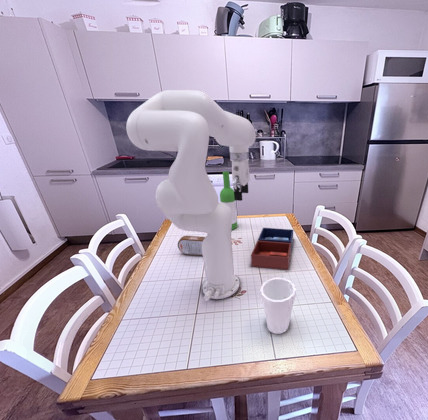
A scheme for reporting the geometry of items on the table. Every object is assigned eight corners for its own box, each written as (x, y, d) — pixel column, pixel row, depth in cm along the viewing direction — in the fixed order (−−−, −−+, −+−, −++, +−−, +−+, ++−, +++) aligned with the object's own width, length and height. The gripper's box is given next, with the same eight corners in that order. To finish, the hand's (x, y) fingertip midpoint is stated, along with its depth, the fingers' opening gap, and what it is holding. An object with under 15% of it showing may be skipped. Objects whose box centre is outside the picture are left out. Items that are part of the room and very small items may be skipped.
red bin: (288, 269, 92) (288, 258, 90) (251, 266, 94) (250, 254, 92) (290, 254, 102) (291, 243, 100) (257, 251, 104) (257, 240, 102)
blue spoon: (288, 242, 111) (288, 236, 110) (287, 246, 107) (287, 241, 106) (265, 240, 112) (265, 235, 111) (263, 245, 108) (263, 239, 107)
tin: (214, 253, 102) (212, 236, 99) (212, 257, 100) (209, 240, 96) (181, 251, 104) (178, 234, 101) (178, 255, 101) (174, 238, 98)
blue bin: (291, 252, 103) (291, 241, 101) (258, 249, 105) (257, 239, 103) (293, 239, 114) (293, 229, 112) (263, 237, 116) (263, 227, 113)
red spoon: (287, 257, 99) (287, 251, 98) (286, 263, 95) (286, 257, 94) (261, 254, 101) (260, 249, 100) (258, 260, 97) (258, 255, 96)
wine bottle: (239, 228, 124) (235, 172, 112) (224, 231, 121) (219, 174, 109) (235, 222, 130) (231, 169, 119) (221, 225, 127) (216, 170, 116)
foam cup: (276, 307, 74) (276, 273, 69) (300, 322, 69) (302, 287, 64) (255, 326, 68) (253, 290, 63) (279, 345, 62) (280, 307, 57)
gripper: (242, 160, 86) (244, 204, 93) (253, 153, 102) (254, 190, 109) (222, 160, 87) (226, 203, 94) (236, 152, 103) (239, 189, 110)
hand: (241, 196), depth 101 cm, fingers open, 9 cm apart
